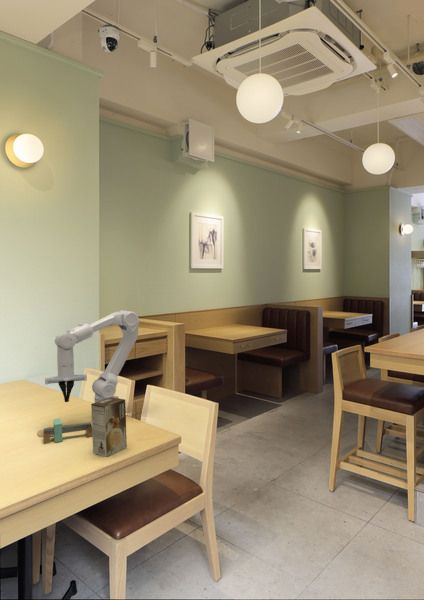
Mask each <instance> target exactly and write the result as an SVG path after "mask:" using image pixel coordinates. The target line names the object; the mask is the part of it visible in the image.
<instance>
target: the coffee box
mask: <svg viewBox="0 0 424 600" xmlns="http://www.w3.org/2000/svg"><path fill="white" fill-rule="evenodd" d="M126 414H127V413H126V399H123V398H120V397H119V398H113V397H111V398H108V399H105V400H102V401H99V402H96V403H95V402H93V403H91V425H92V436H93V437H92V453H93V454H94V455H99V456H101V457H106V458H107V457H110V456H112V455H114V454H116V453H119V451H122V450H123V449H126V448H128V445H127V444H128V443H127V418H126V417H127V415H126Z"/></svg>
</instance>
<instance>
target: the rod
mask: <svg viewBox="0 0 424 600" xmlns="http://www.w3.org/2000/svg"><path fill="white" fill-rule="evenodd" d="M43 429H44V430H43V437H42V439H43V444H44V445H47V444H50V443H51V437H50V435H54V426H50V427H44V428H43ZM82 431H85V433H84V434H85V436H86V438H93V436H92V421H89V422H88V421H87V422H82V423H73V424H67V425H66V424H65V425H62V434H68V433H74V432H82Z"/></svg>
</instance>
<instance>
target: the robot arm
mask: <svg viewBox="0 0 424 600" xmlns="http://www.w3.org/2000/svg"><path fill="white" fill-rule="evenodd" d="M140 321H141V320H140V319H139V316H138V314H137V313H136V312H135V311H129V310H125V309H121V310H118V311H115V312H112V313H109V314H108V315H107V316H104V317H102V318H100V319H98V320H97V321H94V322H92V323H90V324H89V323H83V322H80V323H78V326H76V327H73V328H68V329H67V330H66V332H65V331H62V332H59V333H58V334H57V335H56V336H55V339H54V344H55V345H56V348H57V350H56V352H57V353H56V355H57V356H56V359H57V361H56V363H57V376H52V377H51V376H49V377H45V378H44V384H45V385H50V384H51V385H52V384H58V386H59V388H60V391H61V392H62V393H61V394H62V395H63V400H64V403H69V402H70V396H71V393H72V391H73V388H74V386H75V382H81V381H87V380H88V379H87V378H88V376H87V374H86V373H85V374H75V365H74V364H75V361H74V359H75V357H74V356H75V355H74V354H75V353H74V347H75V346H76V344H79V343H82V342H83V341H85V340H88V339H91V337H92V336H93V335H94V333H95V332H98V331H100V330H102V329H104V328H107V327H110V326H112V325H116V326H118V327H119V328H120V331H121V332H122V335H123V336H122V337H121V340H120V342H119V344H118V345H117V347H116V349H115V351H114V353H113V355H112V356H111V359H110V360H109V362H108V364H107V367H106V368H105V370H104V371H103V372H102V373H100V375H99V376H98V378H97V379H95V380H94V381H93V382H92V385H91V390H92V392H93V393H94V397H93V399H94V400H93V401H94V403H96V402H99V401H102V400H105V399H108V398H111V397H113V398H119V399H120V397H119V396H117V395H115V393H116V391H117V385H118V382H119V381H118V376H119V374H120V372H121V371H122V368H123V367H124V365H125V363H126V360H127V358H128V357H129V355H130V352H131V351H132V349H133V347H134V345H135V344H136V341H137V340H138V337H139V325H140Z"/></svg>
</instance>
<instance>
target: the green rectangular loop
mask: <svg viewBox="0 0 424 600" xmlns="http://www.w3.org/2000/svg"><path fill="white" fill-rule="evenodd" d="M62 422H63V421H62V418H54V419H53V427H54V436H53V439H54V443H59V442H60V443H61V442H63V433H62V426H63V423H62Z"/></svg>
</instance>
